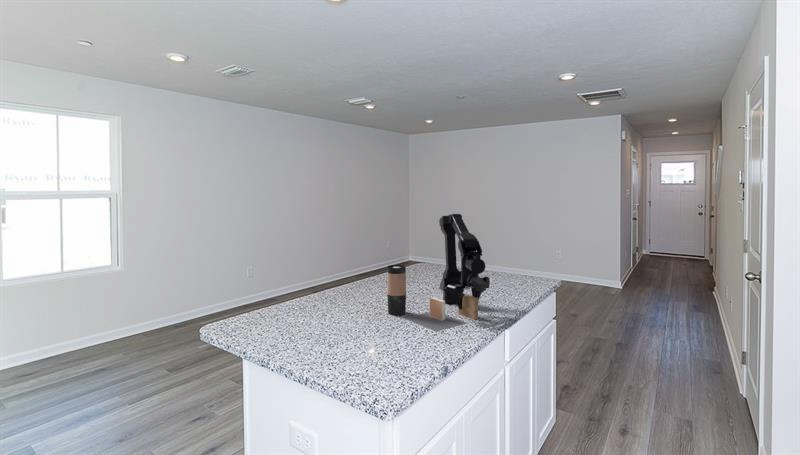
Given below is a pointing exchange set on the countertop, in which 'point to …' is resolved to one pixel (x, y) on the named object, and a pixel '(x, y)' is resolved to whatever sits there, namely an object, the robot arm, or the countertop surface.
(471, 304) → the flat wooden plank
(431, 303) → the tile
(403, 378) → the countertop surface
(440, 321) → the mat
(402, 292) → the travel mug
